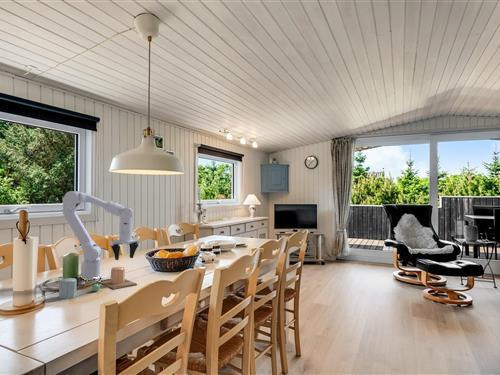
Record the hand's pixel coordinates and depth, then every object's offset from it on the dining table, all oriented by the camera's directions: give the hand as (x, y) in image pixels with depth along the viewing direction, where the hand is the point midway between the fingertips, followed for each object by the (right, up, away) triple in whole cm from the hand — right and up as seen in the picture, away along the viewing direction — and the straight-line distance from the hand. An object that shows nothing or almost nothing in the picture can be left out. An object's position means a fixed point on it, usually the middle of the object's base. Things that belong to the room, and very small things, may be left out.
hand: (124, 258), depth 157 cm
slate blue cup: (-10, -8, -31) cm, 34 cm away
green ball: (-3, -7, -23) cm, 24 cm away
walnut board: (+1, -9, -11) cm, 14 cm away
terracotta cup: (+1, -9, -11) cm, 14 cm away
